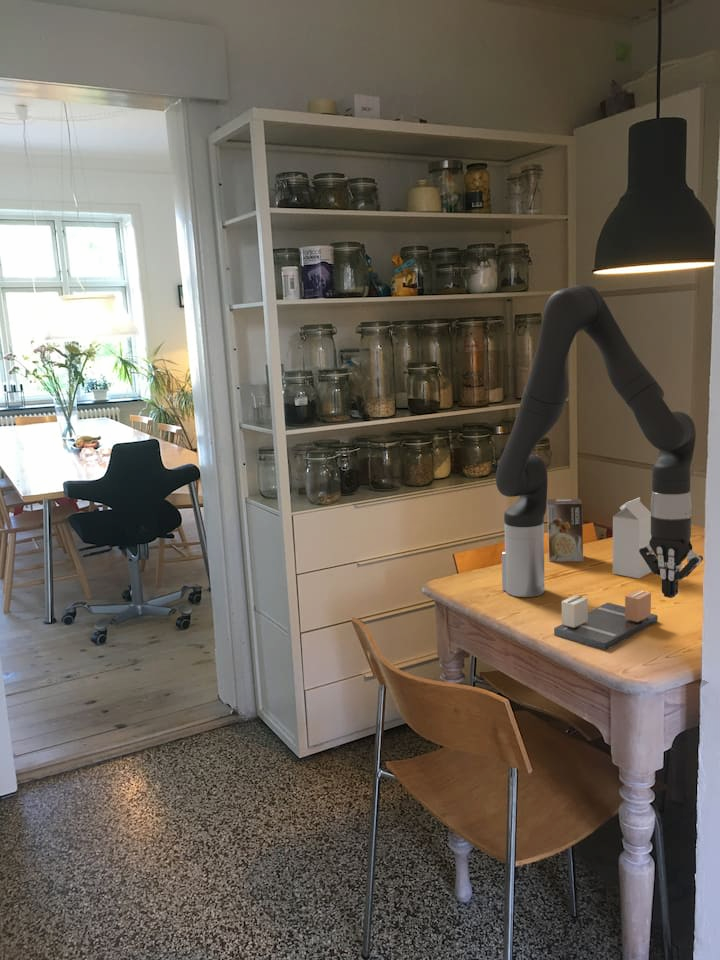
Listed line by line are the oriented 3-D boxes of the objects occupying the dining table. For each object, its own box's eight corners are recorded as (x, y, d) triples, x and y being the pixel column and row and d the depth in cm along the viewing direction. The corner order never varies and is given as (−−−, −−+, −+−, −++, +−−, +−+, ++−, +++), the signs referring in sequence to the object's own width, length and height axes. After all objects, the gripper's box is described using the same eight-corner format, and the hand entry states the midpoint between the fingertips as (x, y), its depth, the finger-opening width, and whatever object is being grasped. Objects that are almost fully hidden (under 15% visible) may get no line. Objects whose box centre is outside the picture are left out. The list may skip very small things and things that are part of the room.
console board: (554, 634, 166) (554, 627, 166) (607, 608, 179) (607, 601, 179) (605, 650, 157) (605, 642, 157) (657, 621, 170) (657, 614, 170)
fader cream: (561, 624, 167) (561, 600, 166) (575, 617, 170) (575, 594, 169) (573, 627, 165) (573, 603, 164) (587, 620, 168) (587, 597, 167)
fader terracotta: (624, 618, 168) (625, 595, 167) (637, 612, 171) (637, 589, 170) (638, 622, 166) (638, 598, 165) (650, 615, 169) (650, 592, 168)
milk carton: (652, 572, 202) (653, 499, 198) (638, 579, 197) (639, 504, 193) (626, 567, 207) (626, 495, 203) (612, 574, 202) (612, 501, 198)
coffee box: (582, 555, 219) (582, 498, 216) (583, 562, 213) (583, 503, 210) (547, 554, 221) (547, 498, 218) (548, 561, 215) (547, 503, 212)
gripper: (630, 512, 161) (630, 594, 164) (693, 521, 151) (692, 608, 154) (650, 505, 166) (649, 585, 169) (712, 514, 156) (710, 598, 159)
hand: (669, 596), depth 162 cm, fingers closed
